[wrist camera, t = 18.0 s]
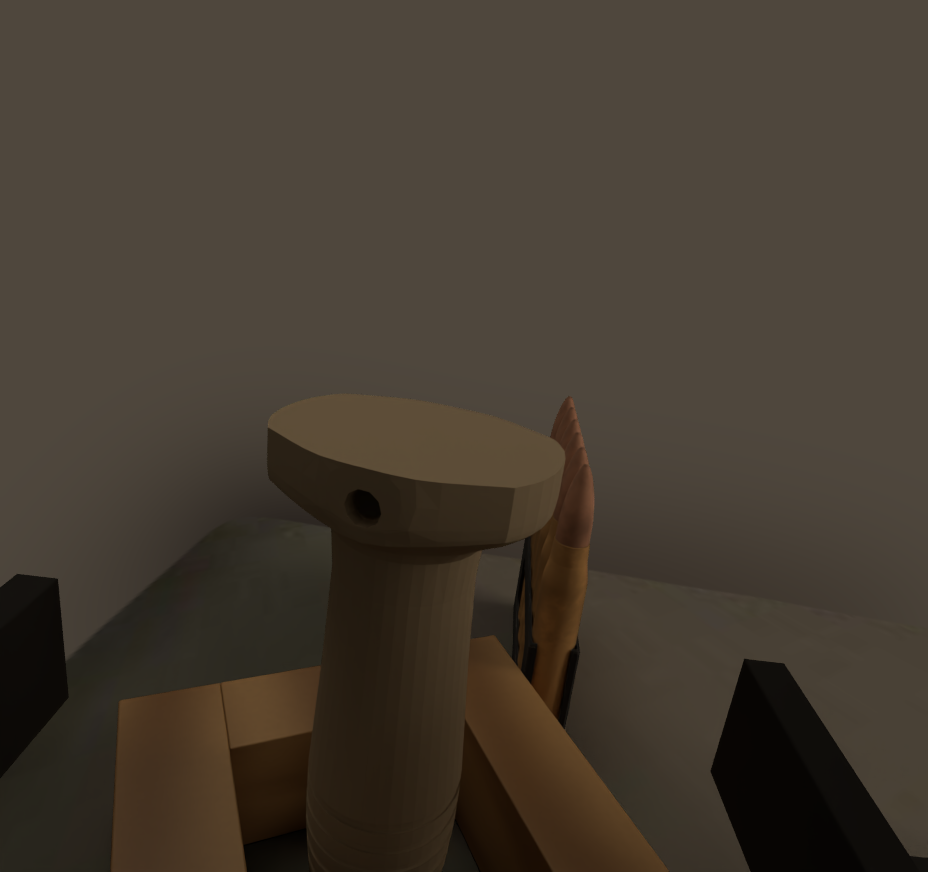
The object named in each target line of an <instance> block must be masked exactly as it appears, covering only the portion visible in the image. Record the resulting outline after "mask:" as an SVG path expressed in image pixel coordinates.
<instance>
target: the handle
mask: <svg viewBox="0 0 928 872" xmlns="http://www.w3.org/2000/svg"><path fill="white" fill-rule="evenodd" d="M267 453H268V455H267V456H268V457H267V460H268V461H267V467H268V476H269V479H270V480H271V481H272V482H273V483H274V484H275V485H276V486H277V487H278V488H279V489H280V490H281V491H282V492H284V493H285V494H286V495H287V496H288V497H289V498H290V499H292V500H293V501H294V502H295V503H296V504H298V505H299V506H300V507H302V508H303V509H304V510H305V511H307V512H308V513H309V514H311V515H312V516H314V517H315V518H316V519H318V520H319V521H321V522H322V523H324V524H325V525H327V526H328V527H330V528H331V535H332V573H331V582H330V591H329V600H328V609H327V618H326V627H325V636H324V646H323V655H322V662H321V670H320V677H319V685H318V692H317V699H316V707H315V714H314V722H313V729H312V737H311V744H310V752H309V759H308V775H307V796H306V828H307V847H308V860H309V870H310V872H442V868H443V865H444V862H445V859H446V855H447V851H448V847H449V843H450V838H451V834H452V830H453V826H454V819H455V814H456V807H457V800H458V793H459V786H460V779H461V771H462V757H463V740H464V724H465V707H466V691H467V675H468V660H469V649H470V637H471V625H472V614H473V602H474V590H475V579H476V574H477V570H478V565H479V561H480V557H481V553H482V550H485V549H491V548H497V547H503V546H506V545H509V544H511V543H515V542H517V541H520V540H523V539H525V538H527V537H529V536H531V535H533V534H534V533H536V532H537V531H538V530H540V529H541V528H543V527H544V526H545V525H546V523H547V522H548V521H549V520H550V519H551V517H552V515H553V512H554V510H555V507H556V504H557V500H558V497H559V492H560V487H561V482H562V476H563V470H564V465H565V451H564V450H563V448H562V447H561V445H560V444H559V443H558V442H556V441H555V440H554V439H552V438H550V437H547V436H545V435H542V434H540V433H537V432H535V431H532V430H530V429H527V428H525V427H522V426H520V425H517V424H515V423H512V422H509V421H506V420H503V419H500V418H497V417H494V416H490V415H486V414H482V413H479V412H474V411H470V410H465V409H460V408H456V407H451V406H447V405H442V404H437V403H432V402H426V401H420V400H412V399H404V398H394V397H383V396H371V395H358V394H334V395H325V396H319V397H313V398H309V399H304V400H301V401H298V402H296V403H292V404H290V405H288V406H286V407H283V408H282V409H279V410H278V411H277V412H276V413H274V414H273V415H271V417H270V419H269V421H268V447H267Z"/></svg>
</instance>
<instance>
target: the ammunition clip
mask: <svg viewBox="0 0 928 872" xmlns="http://www.w3.org/2000/svg"><path fill="white" fill-rule="evenodd" d="M550 438H552V439H554V440H555V441H556V442H558V443H559V444H560V445H561V447H562V448H563V450H564V451H565V465H564V470H563V476H562V482H561V487H560V492H559V497H558V500H557V504H556V507H555V510H554V512H553V515H552V517H551V519H550V520H549V521H548V522H547V523H546V525H545V526H544V527H543V528H541V529H540V530H538V531H537V532H536V533H534V534H533V535H531V536H529V537H527V538H525V543H524V549H523V555H522V561H521V566H520V572H519V578H518V584H517V590H516V596H515V602H514V616H513V653H512V660H513V661H514V662H515V664H516V665H517V666H518V668H519V669H520V670H521V672H522V673H523V674H524V676H525V677H526V679H527V680H528V681H529V683H530V684H531V685H532V687H533V688H534V689H535V691H536V692H537V693H538V695H539V696H540V697H541V699H542V700H543V702H544V703H545V704H546V706H547V707H548V708H549V710H550V711H551V712H552V714H553V715H554V716H555V718H556V719H557V720H558V722H559V723H560V724H561V726H562V727H563V729H565V724H566V719H567V714H568V709H569V704H570V699H571V694H572V689H573V684H574V679H575V674H576V669H577V664H578V659H579V654H580V651H579V643H578V630H579V625H580V620H581V615H582V610H583V604H584V599H585V594H586V589H587V580H588V575H587V561H588V555H589V548H590V537H591V531H592V525H593V516H594V484H593V477H592V473H591V469H590V466H589V463H588V458H587V453H586V450H585V447H584V441H583V438H582V435H581V430H580V426H579V422H578V419H577V414H576V410H575V407H574V402H573V399H572V397H570V396H569V397H568V398H566V399H565V401H564V402H563V404H562V406H561V408H560V410H559V412H558V414H557V417H556V419H555V422H554V425H553V429H552V432H551V436H550Z"/></svg>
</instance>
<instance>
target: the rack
mask: <svg viewBox="0 0 928 872" xmlns="http://www.w3.org/2000/svg"><path fill="white" fill-rule="evenodd" d="M320 670H321V665H319V666H314V667H308V668H302V669H296V670H291V671H285V672H279V673H273V674H268V675H262V676H256V677H250V678H245V679H239V680H233V681H228V682H222V683H221V684H219V683H217V684H211V685H205V686H199V687H194V688H188V689H182V690H176V691H171V692H165V693H159V694H153V695H148V696H142V697H136V698H130V699H125V700H120V701H119V703H118V723H117V743H116V763H115V783H114V803H113V823H112V843H111V863H110V872H247V867H246V860H245V853H244V846H243V845H245V844H249V843H253V842H257V841H260V840H264V839H268V838H271V837H275V836H279V835H282V834H286V833H290V832H293V831H297V830H301V829H304V828H306V796H307V775H308V759H309V752H310V744H311V737H312V729H313V722H314V714H315V707H316V699H317V692H318V685H319V677H320ZM455 819H456V821H457V823H458V825H459V827H460V829H461V831H462V834H463V836H464V838H465V840H466V842H467V844H468V846H469V848H470V850H471V853H472V855H473V857H474V859H475V861H476V863H477V865H478V867H479V870H480V872H669V870H668V869H667V868H666V866H665V865H664V864H663V862H662V861H661V860H660V858H659V857H658V856H657V854H656V853H655V851H654V850H653V849H652V847H651V846H650V845H649V843H648V842H647V841H646V839H645V838H644V837H643V835H642V834H641V833H640V831H639V830H638V829H637V827H636V826H635V824H634V823H633V822H632V820H631V819H630V818H629V816H628V815H627V814H626V812H625V811H624V810H623V808H622V807H621V806H620V804H619V803H618V802H617V800H616V799H615V797H614V796H613V795H612V793H611V792H610V791H609V789H608V788H607V787H606V785H605V784H604V783H603V781H602V780H601V779H600V777H599V776H598V774H597V773H596V772H595V770H594V769H593V768H592V766H591V765H590V764H589V762H588V761H587V760H586V758H585V757H584V756H583V754H582V753H581V752H580V750H579V749H578V747H577V746H576V745H575V743H574V742H573V741H572V739H571V738H570V737H569V735H568V734H567V733H566V731H565V730H564V729H563V727H562V726H561V724H560V723H559V722H558V720H557V719H556V718H555V716H554V715H553V714H552V712H551V711H550V710H549V708H548V707H547V706H546V704H545V703H544V702H543V700H542V699H541V697H540V696H539V695H538V693H537V692H536V691H535V689H534V688H533V687H532V685H531V684H530V683H529V681H528V680H527V679H526V677H525V676H524V674H523V673H522V672H521V670H520V669H519V668H518V666H517V665H516V664H515V662H514V661H513V660H512V658H511V657H510V656H509V654H508V653H507V652H506V650H505V649H504V647H503V646H502V645H501V643H500V642H499V641H498V639H497V638H496V637H495V635H492V636H486V637H480V638H474V639H470V649H469V660H468V675H467V691H466V707H465V724H464V740H463V757H462V771H461V779H460V786H459V793H458V800H457V807H456V814H455Z"/></svg>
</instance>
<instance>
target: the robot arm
mask: <svg viewBox="0 0 928 872" xmlns="http://www.w3.org/2000/svg"><path fill="white" fill-rule="evenodd" d="M68 698H69V696H68V685H67V674H66V663H65V652H64V641H63V631H62V620H61V608H60V597H59V586H58V579H55V578H47V577H38V576H30V575H21V574H17V575H15V576H14V577H13V578H12V579H11V580H9V581H8V582H7V583H5V584H4V585H3V586H2V587H0V778H1V777H2V776H3V774H4V773H5V772H6V771H7V770H8V768H9V767H10V766H11V765H12V764H13V763H14V761H15V760H16V759H17V758H18V757H19V755H20V754H21V753H22V752H23V751H24V750H25V748H26V747H27V746H28V745H29V744H30V742H31V741H32V740H33V739H34V738H35V737H36V735H37V734H38V733H39V732H40V731H41V729H42V728H43V727H44V726H45V725H46V724H47V722H48V721H49V720H50V719H51V718H52V716H53V715H54V714H55V713H56V712H57V711H58V709H59V708H60V707H61V706H62V705H63V703H64V702H65V701H66V700H67V699H68ZM711 774H712V776H713V779H714V781H715V784H716V786H717V789H718V791H719V794H720V796H721V799H722V801H723V804H724V806H725V809H726V811H727V814H728V816H729V819H730V821H731V824H732V826H733V829H734V831H735V834H736V836H737V839H738V841H739V844H740V846H741V849H742V851H743V854H744V856H745V859H746V861H747V864H748V866H749V869H750V871H751V872H928V858H922V857H913V856H909V854H908V853H907V851H906V850H905V848H904V847H903V845H902V844H901V842H900V840H899V839H898V837H897V836H896V834H895V833H894V831H893V830H892V828H891V827H890V825H889V824H888V822H887V821H886V819H885V818H884V816H883V814H882V813H881V811H880V810H879V808H878V807H877V805H876V804H875V802H874V801H873V799H872V798H871V796H870V795H869V793H868V792H867V790H866V788H865V787H864V785H863V784H862V782H861V781H860V779H859V778H858V776H857V775H856V773H855V772H854V770H853V769H852V767H851V765H850V764H849V762H848V761H847V759H846V758H845V756H844V755H843V753H842V752H841V750H840V749H839V747H838V746H837V744H836V743H835V741H834V739H833V738H832V736H831V735H830V733H829V732H828V730H827V729H826V727H825V726H824V724H823V723H822V721H821V720H820V718H819V716H818V715H817V713H816V712H815V710H814V709H813V707H812V706H811V704H810V703H809V701H808V700H807V698H806V697H805V695H804V694H803V692H802V690H801V689H800V687H799V686H798V684H797V683H796V681H795V680H794V678H793V677H792V675H791V674H790V672H789V671H788V669H787V668H786V666H785V664H783V663H775V662H766V661H757V660H749V659H744V662H743V665H742V668H741V672H740V675H739V678H738V682H737V685H736V688H735V692H734V695H733V698H732V702H731V705H730V708H729V712H728V715H727V718H726V722H725V725H724V728H723V732H722V735H721V738H720V742H719V745H718V748H717V752H716V755H715V758H714V762H713V765H712V768H711Z"/></svg>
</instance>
